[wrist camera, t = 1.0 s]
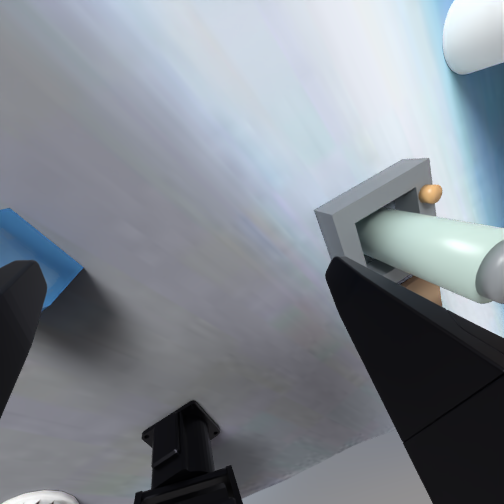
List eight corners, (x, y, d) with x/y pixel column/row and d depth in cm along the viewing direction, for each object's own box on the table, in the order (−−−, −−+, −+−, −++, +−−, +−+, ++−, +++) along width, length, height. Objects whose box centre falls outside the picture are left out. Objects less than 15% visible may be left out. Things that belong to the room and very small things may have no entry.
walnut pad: (439, 326, 38) (445, 329, 37) (377, 369, 36) (382, 373, 35) (431, 264, 33) (436, 266, 32) (359, 311, 31) (363, 314, 31)
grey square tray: (417, 247, 31) (449, 257, 27) (343, 294, 30) (367, 311, 26) (402, 159, 26) (439, 157, 23) (314, 210, 25) (338, 216, 21)
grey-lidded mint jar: (394, 238, 29) (543, 284, 18) (357, 261, 29) (486, 324, 17) (385, 197, 27) (549, 217, 15) (345, 221, 26) (485, 261, 15)
